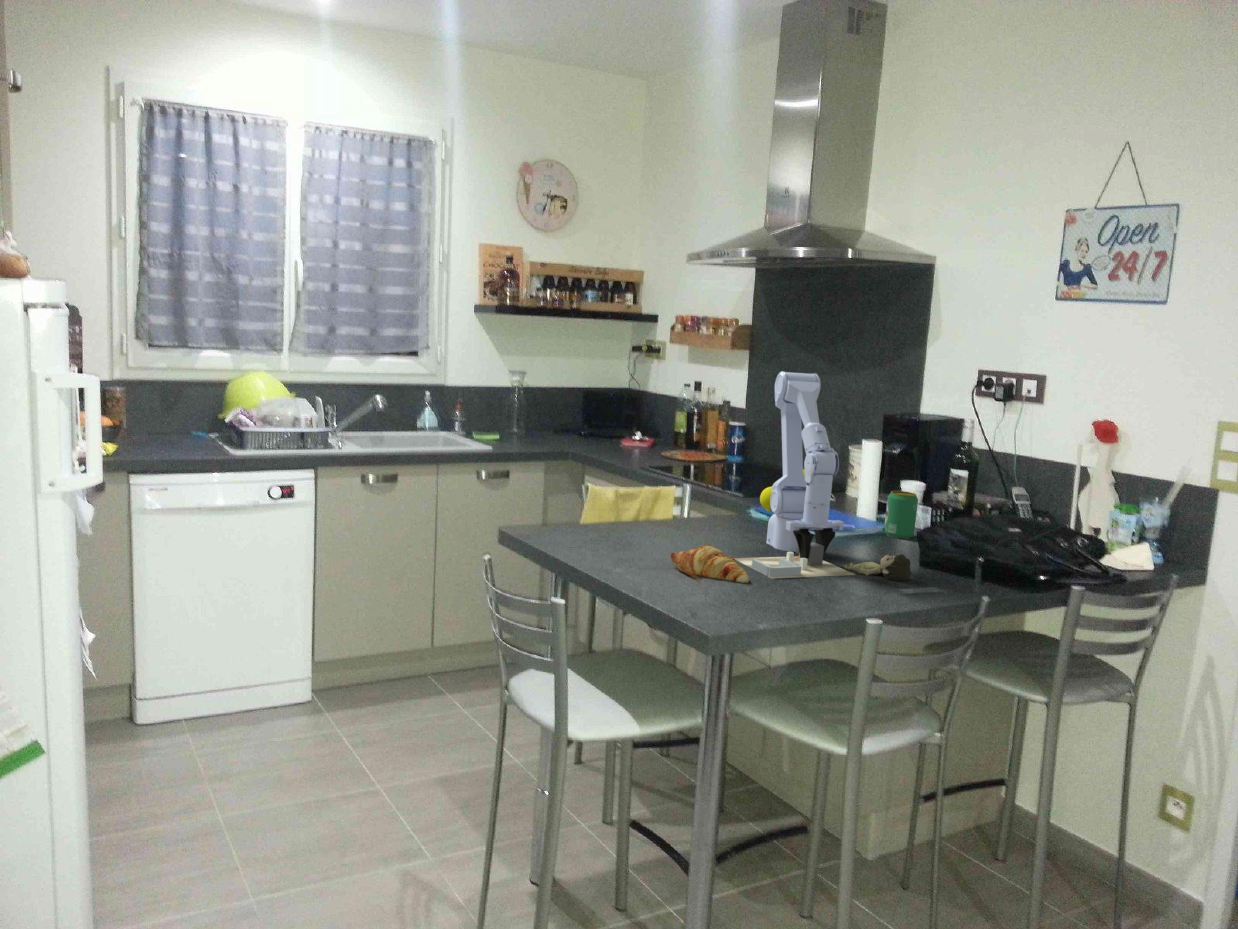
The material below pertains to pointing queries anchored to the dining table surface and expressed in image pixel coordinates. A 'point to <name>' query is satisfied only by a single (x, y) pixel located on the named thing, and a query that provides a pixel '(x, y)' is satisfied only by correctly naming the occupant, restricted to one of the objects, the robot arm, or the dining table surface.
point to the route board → (811, 571)
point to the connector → (814, 554)
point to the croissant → (709, 564)
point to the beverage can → (901, 514)
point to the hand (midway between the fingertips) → (811, 560)
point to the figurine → (886, 567)
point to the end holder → (777, 568)
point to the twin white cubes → (802, 560)
